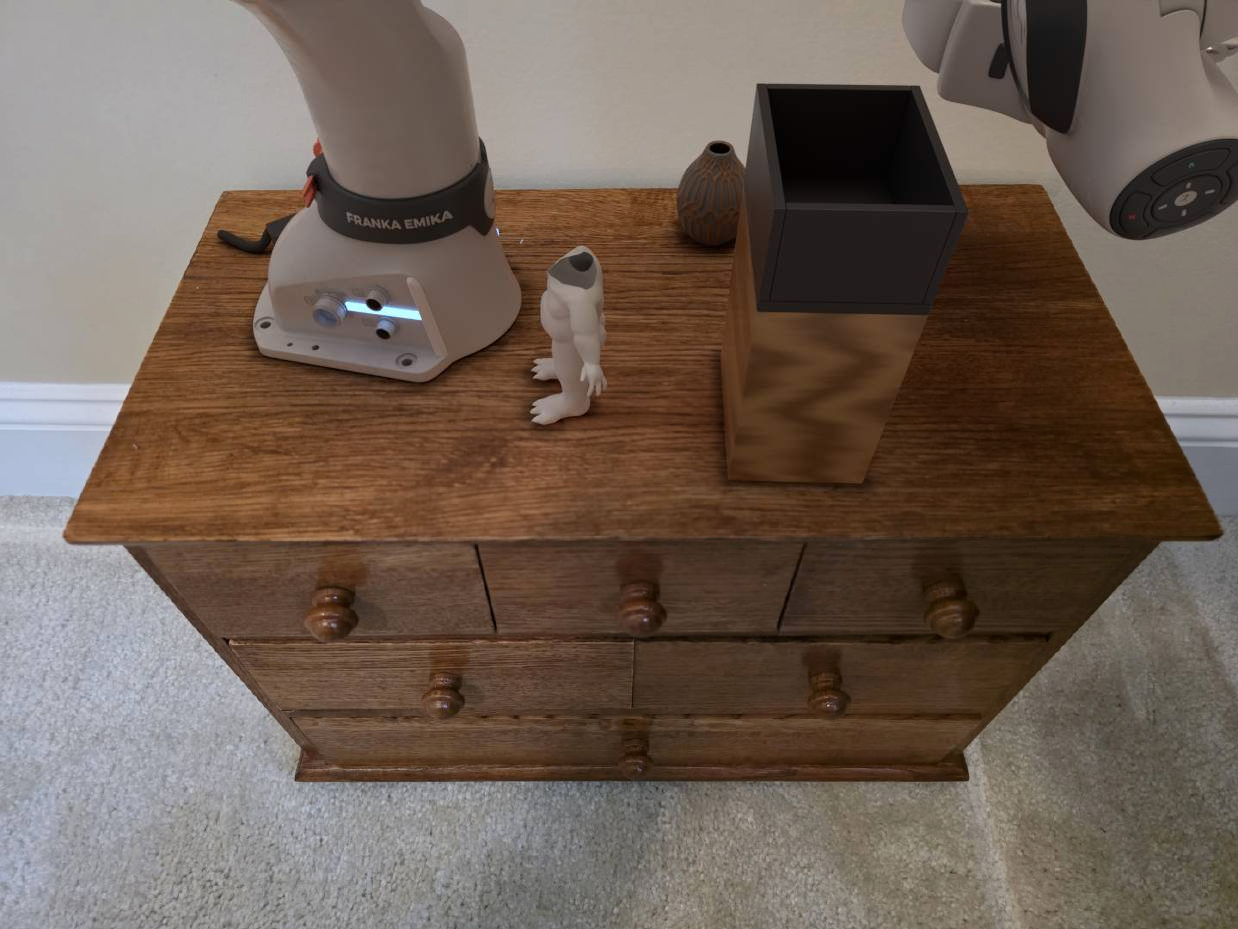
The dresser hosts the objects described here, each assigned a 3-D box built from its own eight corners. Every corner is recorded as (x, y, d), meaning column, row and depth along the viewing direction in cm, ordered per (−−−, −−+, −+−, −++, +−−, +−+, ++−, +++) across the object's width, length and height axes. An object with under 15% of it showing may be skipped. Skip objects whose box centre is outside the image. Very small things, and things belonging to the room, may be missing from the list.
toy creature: (531, 341, 68) (517, 218, 58) (604, 338, 68) (601, 215, 58) (529, 452, 60) (512, 333, 51) (610, 449, 60) (608, 329, 51)
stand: (727, 480, 59) (756, 311, 46) (720, 356, 66) (743, 183, 54) (862, 484, 58) (928, 315, 46) (839, 359, 66) (890, 186, 53)
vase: (664, 218, 78) (668, 133, 71) (730, 205, 79) (741, 120, 72) (690, 261, 74) (697, 175, 67) (759, 247, 75) (773, 161, 68)
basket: (756, 311, 46) (774, 208, 41) (743, 183, 54) (756, 82, 48) (928, 315, 46) (969, 211, 40) (890, 186, 53) (919, 84, 48)
